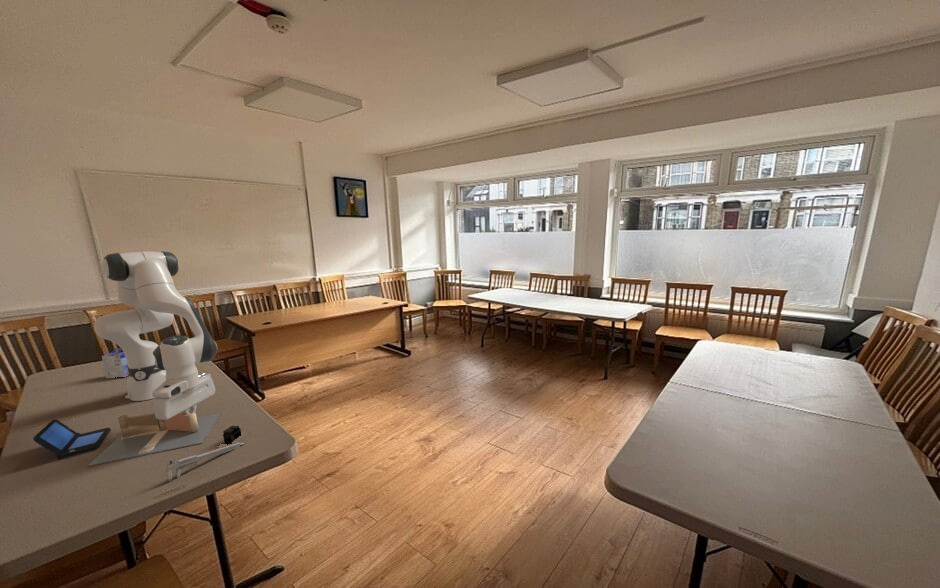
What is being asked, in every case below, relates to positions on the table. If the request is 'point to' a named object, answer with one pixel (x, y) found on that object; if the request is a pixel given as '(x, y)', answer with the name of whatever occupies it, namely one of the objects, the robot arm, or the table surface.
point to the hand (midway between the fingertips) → (190, 418)
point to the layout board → (155, 442)
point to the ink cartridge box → (115, 364)
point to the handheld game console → (69, 439)
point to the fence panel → (183, 422)
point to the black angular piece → (231, 434)
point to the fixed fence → (140, 424)
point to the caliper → (194, 460)
